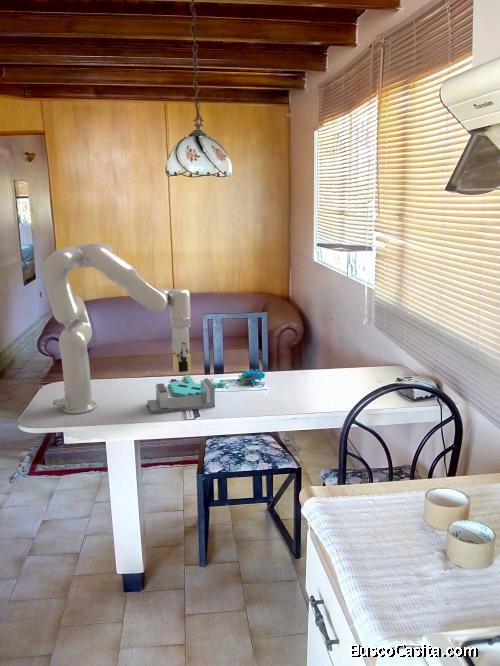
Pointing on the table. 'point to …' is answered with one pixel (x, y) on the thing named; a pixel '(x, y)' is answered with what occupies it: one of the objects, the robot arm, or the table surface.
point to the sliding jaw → (162, 396)
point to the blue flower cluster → (251, 376)
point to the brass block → (176, 362)
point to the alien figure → (189, 387)
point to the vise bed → (187, 400)
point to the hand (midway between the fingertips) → (182, 369)
